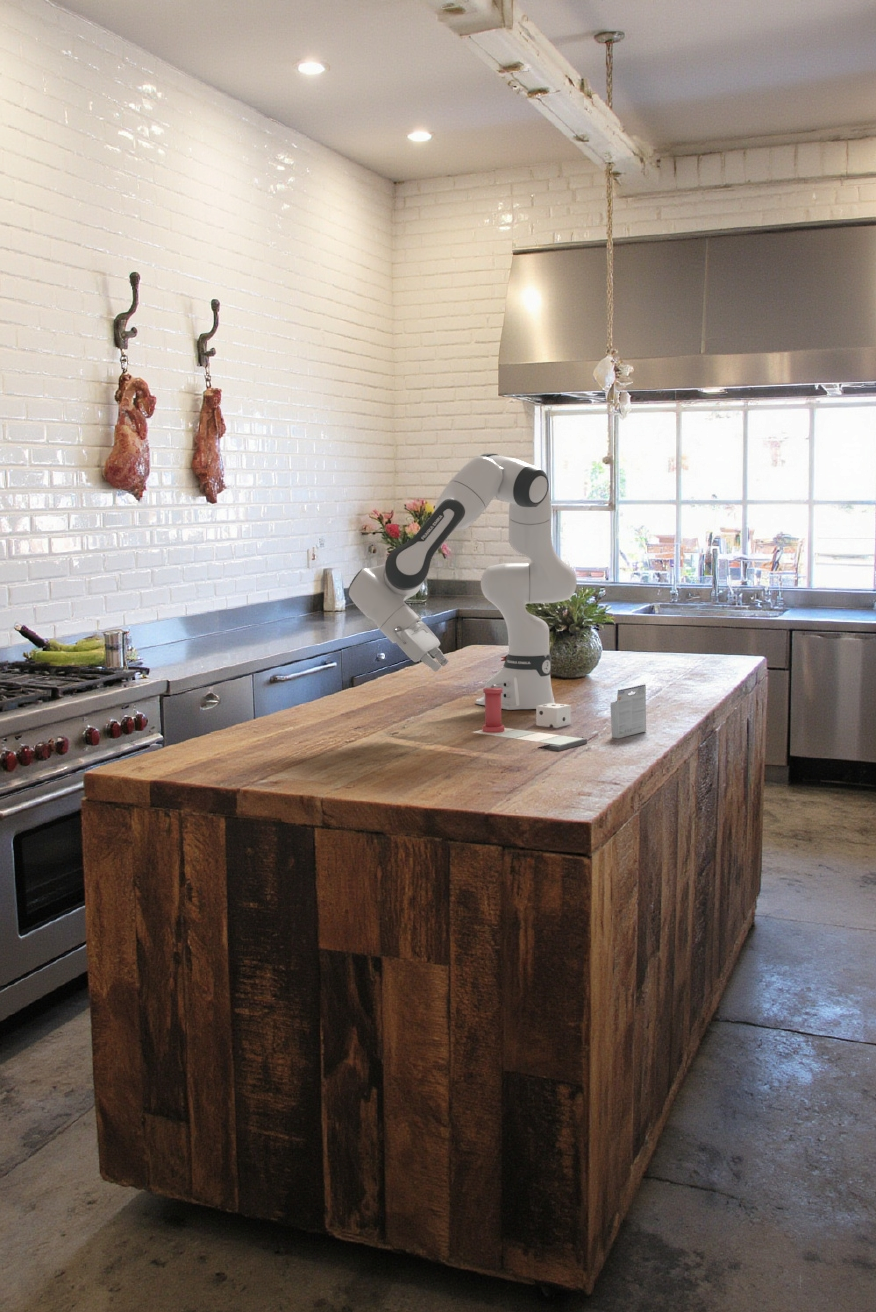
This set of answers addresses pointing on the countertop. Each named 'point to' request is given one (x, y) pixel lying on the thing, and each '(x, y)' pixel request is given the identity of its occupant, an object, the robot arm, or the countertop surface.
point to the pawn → (493, 710)
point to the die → (553, 715)
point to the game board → (540, 738)
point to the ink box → (629, 712)
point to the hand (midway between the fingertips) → (442, 666)
